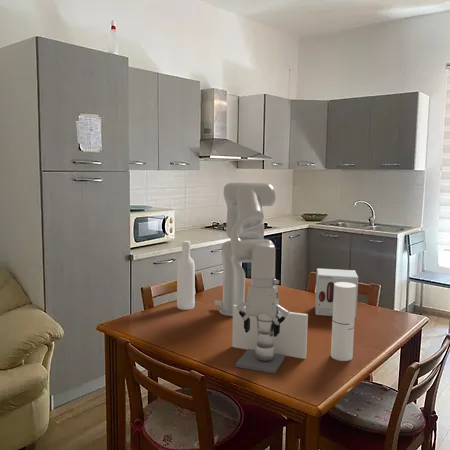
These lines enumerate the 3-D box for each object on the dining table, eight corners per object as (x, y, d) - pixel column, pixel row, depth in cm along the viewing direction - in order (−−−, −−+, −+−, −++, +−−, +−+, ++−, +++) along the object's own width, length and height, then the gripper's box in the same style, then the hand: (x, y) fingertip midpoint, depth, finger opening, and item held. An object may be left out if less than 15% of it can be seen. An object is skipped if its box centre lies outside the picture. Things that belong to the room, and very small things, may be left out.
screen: (232, 346, 167) (233, 305, 165) (233, 345, 168) (234, 304, 166) (305, 358, 158) (306, 315, 156) (306, 357, 159) (307, 314, 157)
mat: (235, 366, 151) (235, 363, 151) (248, 351, 163) (248, 348, 163) (274, 373, 146) (274, 370, 146) (285, 357, 158) (285, 354, 158)
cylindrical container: (328, 352, 163) (331, 282, 160) (348, 352, 164) (351, 281, 161) (334, 361, 156) (338, 287, 153) (355, 360, 157) (359, 287, 154)
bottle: (198, 306, 213) (198, 241, 209) (187, 311, 206) (187, 243, 202) (184, 303, 217) (184, 239, 213) (173, 307, 210) (173, 241, 206)
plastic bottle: (253, 362, 152) (255, 302, 149) (256, 354, 159) (258, 296, 156) (273, 364, 151) (275, 303, 148) (275, 356, 157) (277, 297, 154)
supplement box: (315, 315, 203) (317, 274, 200) (314, 306, 216) (316, 267, 213) (357, 318, 200) (359, 276, 198) (353, 308, 213) (355, 269, 211)
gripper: (292, 282, 152) (290, 333, 154) (241, 276, 158) (240, 326, 160) (286, 287, 145) (284, 341, 147) (233, 281, 151) (232, 333, 153)
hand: (261, 333), depth 153 cm, fingers open, 9 cm apart
